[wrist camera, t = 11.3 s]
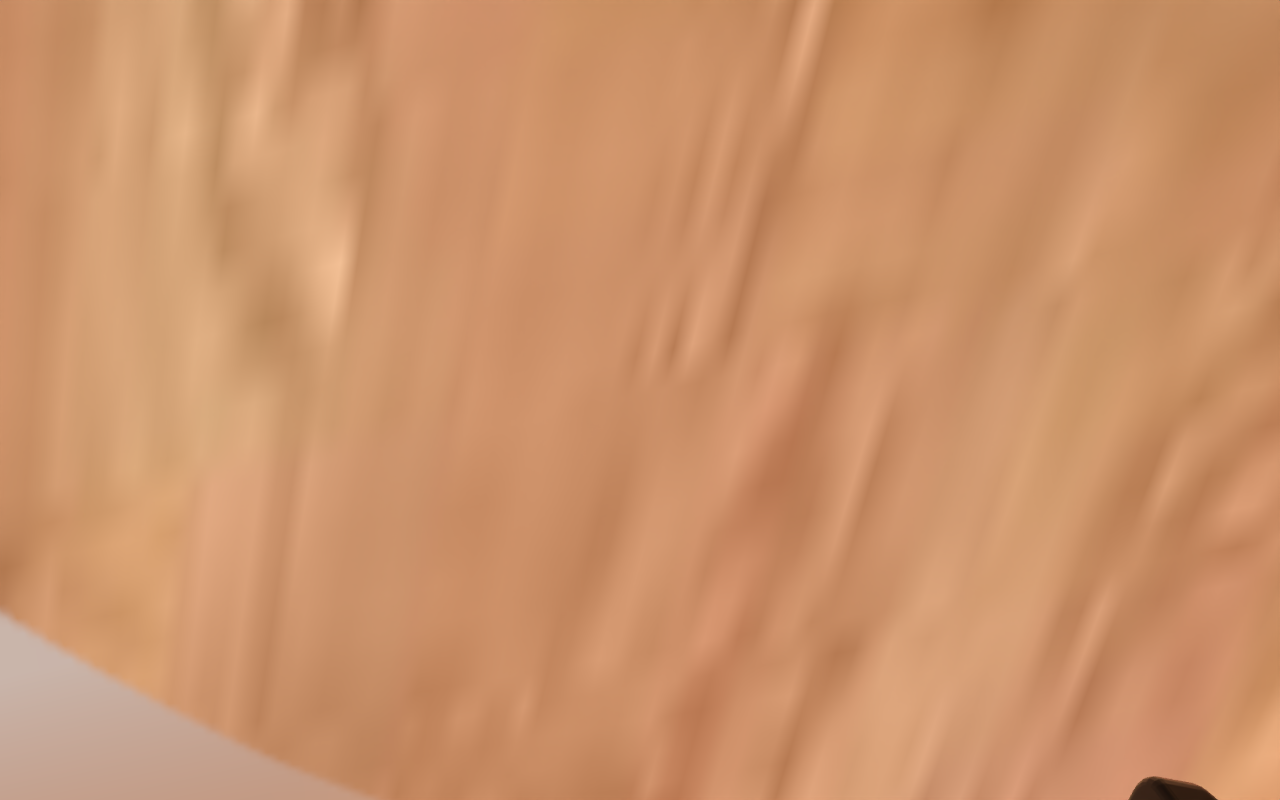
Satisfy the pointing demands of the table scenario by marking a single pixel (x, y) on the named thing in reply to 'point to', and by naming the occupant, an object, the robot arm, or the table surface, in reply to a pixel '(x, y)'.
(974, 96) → the table surface
